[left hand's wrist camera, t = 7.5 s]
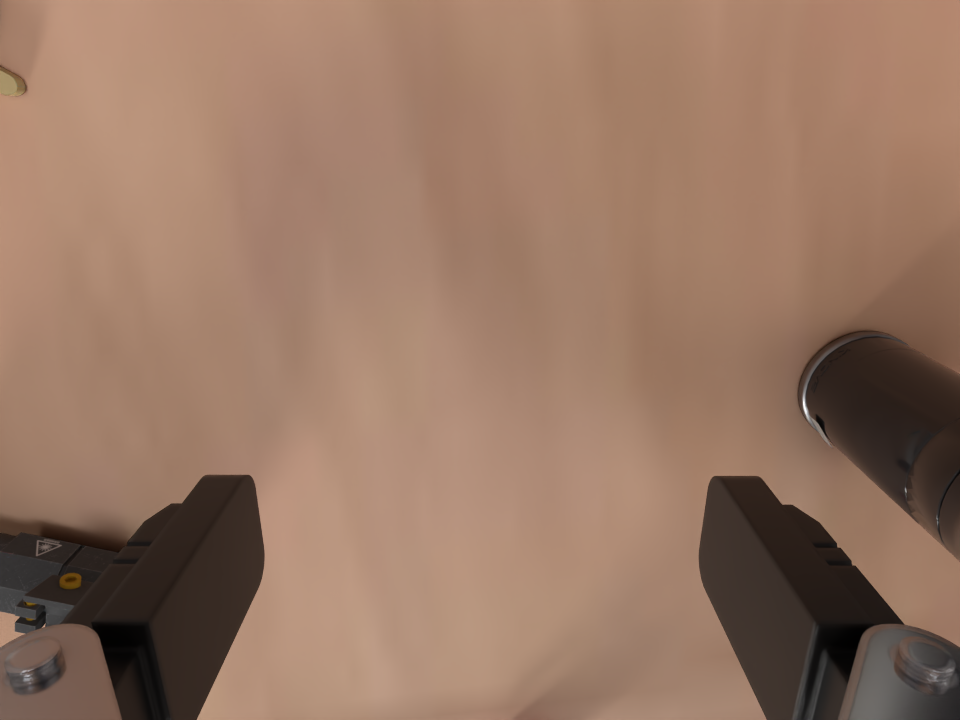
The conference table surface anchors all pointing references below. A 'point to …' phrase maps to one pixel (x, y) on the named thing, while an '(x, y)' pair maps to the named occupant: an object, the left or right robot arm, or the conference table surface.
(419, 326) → the conference table surface
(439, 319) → the conference table surface
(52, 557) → the laser sight
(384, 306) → the conference table surface
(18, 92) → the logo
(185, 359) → the conference table surface
